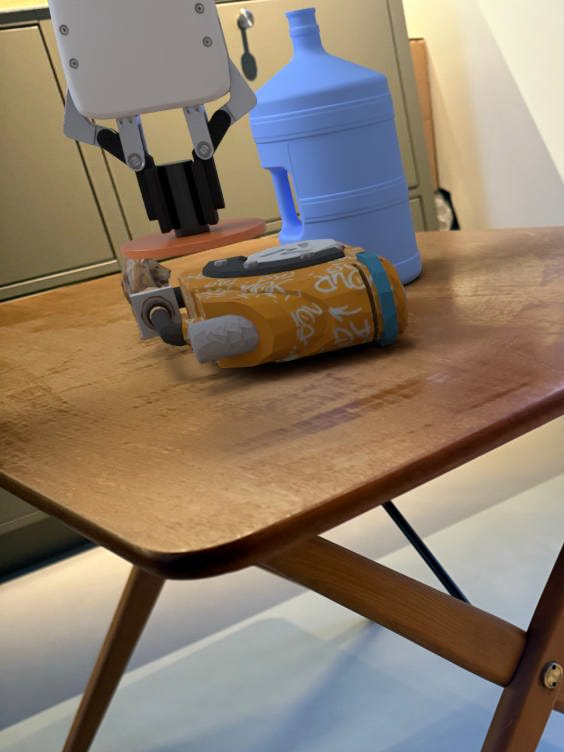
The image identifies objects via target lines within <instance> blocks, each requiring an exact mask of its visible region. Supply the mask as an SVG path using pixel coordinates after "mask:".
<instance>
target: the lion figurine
mask: <svg viewBox="0 0 564 752" xmlns="http://www.w3.org/2000/svg"><path fill="white" fill-rule="evenodd" d="M171 276H172V269H171V268H168V267H167V266H164V265H162V264H160V263H159V261H157V260H154V259H126V260H125V263H124V265H123V268H122V277H121V280H120V285H121V291H122V294H123V296H124V298H125V299H126V301H127V303H128V304H129V306H130V312H131V314H132V316H133V318H134V321H135V322H136V326H137V328H138V329H140V327H139V324H138V321H137V318H136V315H135V311H134V308H133V305H132V302H131V299H130V295H131V294H136V293H140V292H142V291H143V290H145V289H147V288H149V287H157V288H163V287H168V286H170V281H169V279H171ZM138 337H139V339H140V340H144V339H143V337H142V334H141V331H140V330H139V334H138Z"/></svg>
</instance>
